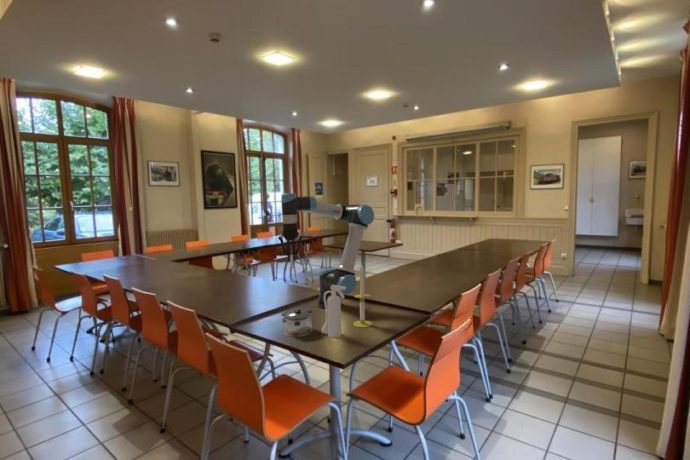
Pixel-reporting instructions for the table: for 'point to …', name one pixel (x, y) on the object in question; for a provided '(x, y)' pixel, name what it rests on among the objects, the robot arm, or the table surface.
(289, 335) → the trivet
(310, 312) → the lid
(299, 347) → the table surface
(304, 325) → the pot
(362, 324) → the candle
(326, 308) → the white extinguisher
